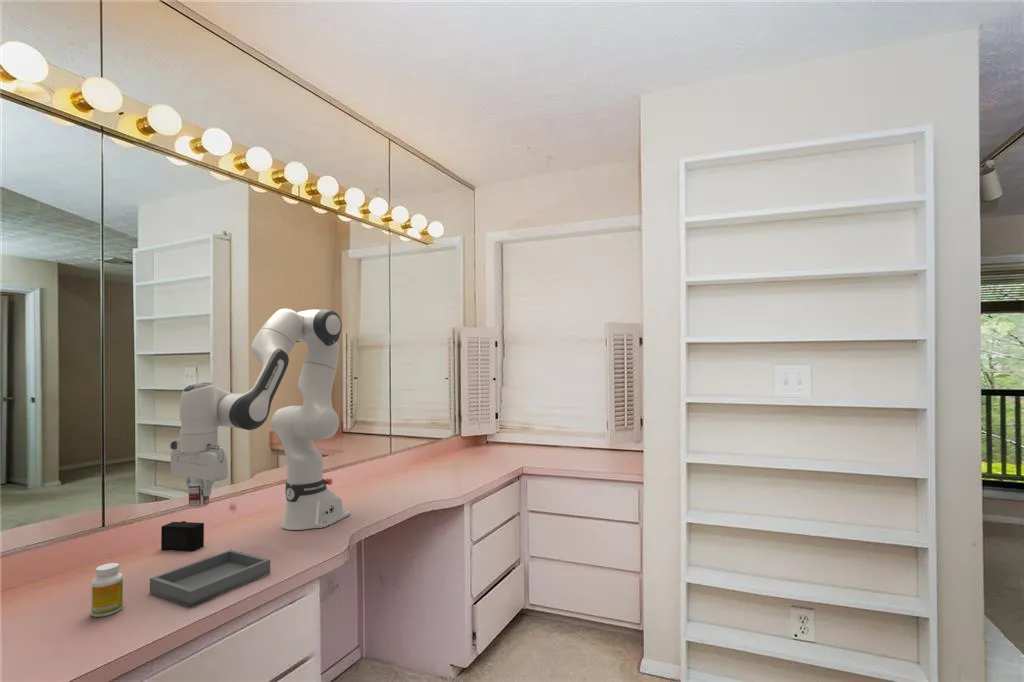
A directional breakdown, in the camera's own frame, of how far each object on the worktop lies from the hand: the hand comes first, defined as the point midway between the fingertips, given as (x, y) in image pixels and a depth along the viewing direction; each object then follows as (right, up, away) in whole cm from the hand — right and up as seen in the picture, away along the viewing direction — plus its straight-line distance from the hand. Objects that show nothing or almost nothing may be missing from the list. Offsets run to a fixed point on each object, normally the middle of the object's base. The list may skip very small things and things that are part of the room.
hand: (199, 494), depth 138 cm
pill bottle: (0, -3, 0) cm, 3 cm away
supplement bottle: (-3, -18, -27) cm, 33 cm away
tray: (+12, -18, -14) cm, 25 cm away
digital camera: (-11, -19, +11) cm, 25 cm away
